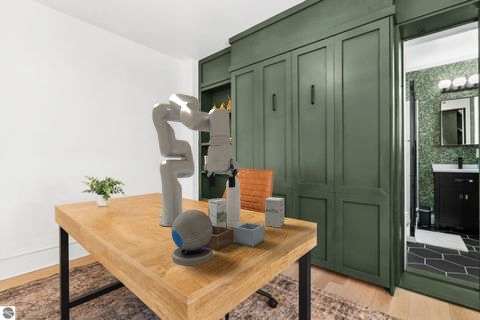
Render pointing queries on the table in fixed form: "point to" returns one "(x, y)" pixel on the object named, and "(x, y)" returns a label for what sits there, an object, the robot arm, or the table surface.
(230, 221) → the water bottle
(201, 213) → the webcam
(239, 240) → the blue-grey open box
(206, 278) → the table surface
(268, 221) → the supplement box
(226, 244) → the walnut box
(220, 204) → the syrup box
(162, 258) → the table surface
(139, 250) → the table surface
